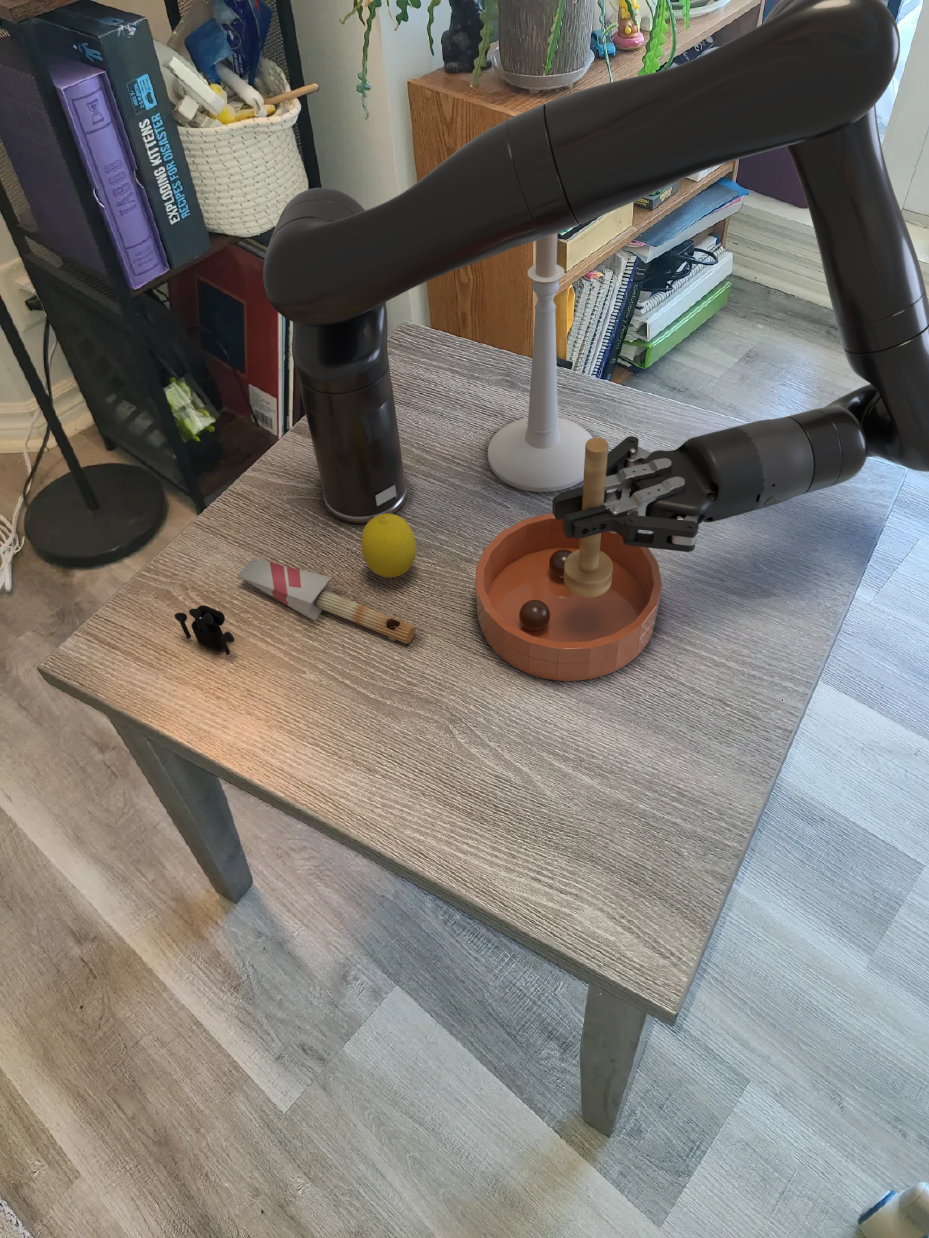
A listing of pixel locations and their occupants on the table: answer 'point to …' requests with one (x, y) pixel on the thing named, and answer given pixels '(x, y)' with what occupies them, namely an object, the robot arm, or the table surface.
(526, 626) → the bead
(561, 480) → the candlestick
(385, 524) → the lemon
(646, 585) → the bowl
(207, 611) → the wireless earbuds
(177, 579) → the table surface
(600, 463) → the wooden peg stand
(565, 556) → the bead
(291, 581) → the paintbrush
